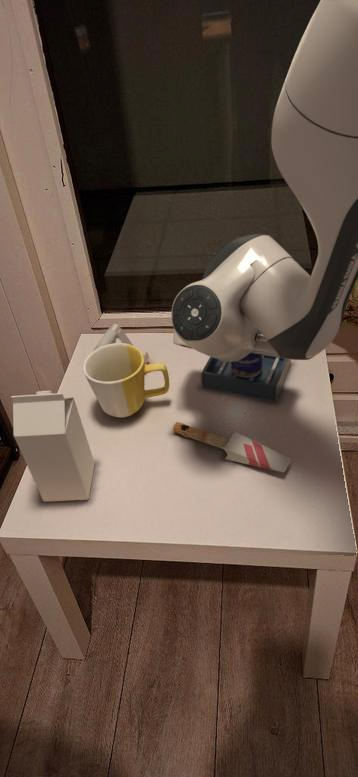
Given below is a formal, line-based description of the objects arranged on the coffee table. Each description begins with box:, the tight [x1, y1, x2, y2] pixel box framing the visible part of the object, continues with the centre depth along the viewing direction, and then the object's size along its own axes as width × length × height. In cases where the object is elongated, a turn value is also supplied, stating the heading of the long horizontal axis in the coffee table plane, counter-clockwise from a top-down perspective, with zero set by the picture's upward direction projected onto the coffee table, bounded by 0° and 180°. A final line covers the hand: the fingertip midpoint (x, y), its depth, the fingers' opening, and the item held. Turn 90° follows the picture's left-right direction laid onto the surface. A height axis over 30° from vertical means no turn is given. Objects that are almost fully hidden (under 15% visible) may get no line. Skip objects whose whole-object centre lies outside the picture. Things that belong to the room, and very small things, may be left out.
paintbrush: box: [172, 421, 292, 473], centre depth 86 cm, size 4×3×20 cm
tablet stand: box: [92, 323, 150, 365], centre depth 101 cm, size 9×8×8 cm
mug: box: [82, 342, 170, 418], centre depth 93 cm, size 14×10×10 cm
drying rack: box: [200, 355, 292, 403], centre depth 98 cm, size 14×11×4 cm
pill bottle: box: [231, 353, 263, 378], centre depth 95 cm, size 6×6×10 cm
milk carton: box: [10, 390, 96, 502], centre depth 79 cm, size 7×7×19 cm
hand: (247, 344), depth 95 cm, fingers open, 7 cm apart
